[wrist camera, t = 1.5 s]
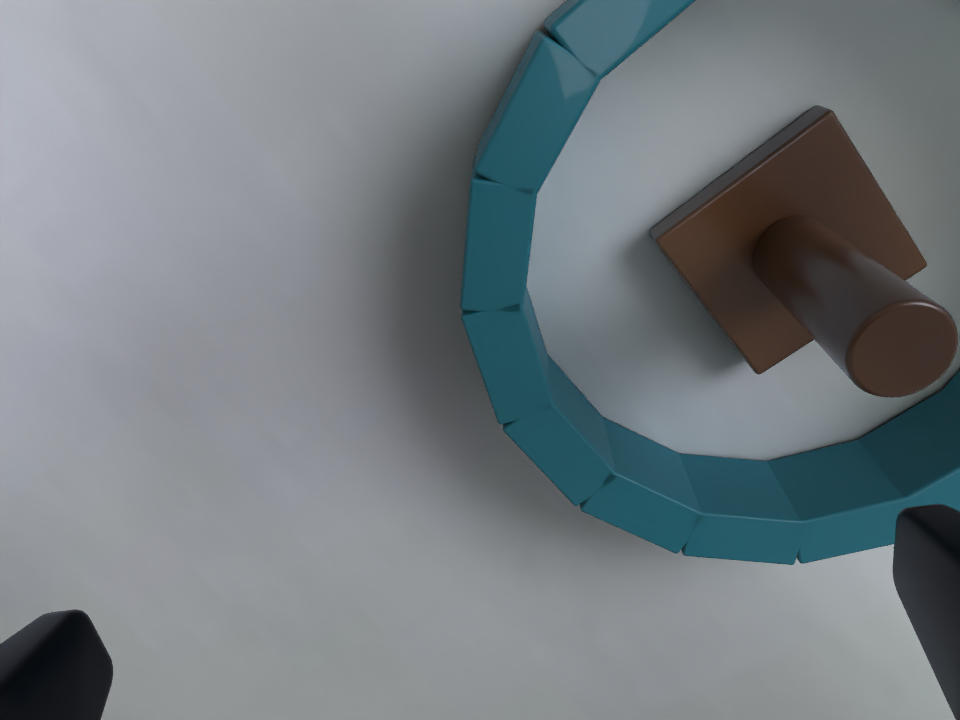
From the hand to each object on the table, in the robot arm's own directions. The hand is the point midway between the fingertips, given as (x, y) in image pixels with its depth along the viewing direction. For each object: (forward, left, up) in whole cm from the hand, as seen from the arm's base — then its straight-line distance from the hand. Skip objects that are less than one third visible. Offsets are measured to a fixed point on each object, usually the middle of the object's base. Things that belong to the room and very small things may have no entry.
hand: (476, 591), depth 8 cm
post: (+6, -3, -9) cm, 11 cm away
